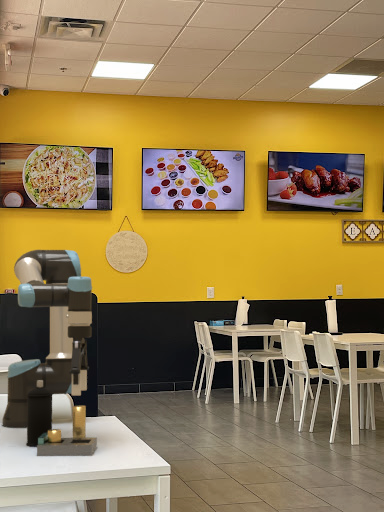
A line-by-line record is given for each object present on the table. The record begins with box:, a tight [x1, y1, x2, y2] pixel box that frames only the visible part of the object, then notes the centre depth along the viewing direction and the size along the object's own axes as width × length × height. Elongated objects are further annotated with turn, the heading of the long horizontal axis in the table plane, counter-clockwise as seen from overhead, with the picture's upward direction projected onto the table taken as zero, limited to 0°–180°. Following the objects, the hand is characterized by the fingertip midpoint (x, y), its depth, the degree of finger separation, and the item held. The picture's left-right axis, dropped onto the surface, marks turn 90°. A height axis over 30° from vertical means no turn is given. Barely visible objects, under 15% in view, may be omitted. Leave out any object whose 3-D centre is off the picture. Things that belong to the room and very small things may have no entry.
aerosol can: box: [25, 380, 54, 448], centre depth 233 cm, size 8×8×20 cm
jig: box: [36, 428, 98, 457], centre depth 221 cm, size 12×16×6 cm
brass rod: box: [72, 405, 87, 438], centre depth 232 cm, size 4×4×12 cm
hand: (79, 392), depth 232 cm, fingers open, 13 cm apart
